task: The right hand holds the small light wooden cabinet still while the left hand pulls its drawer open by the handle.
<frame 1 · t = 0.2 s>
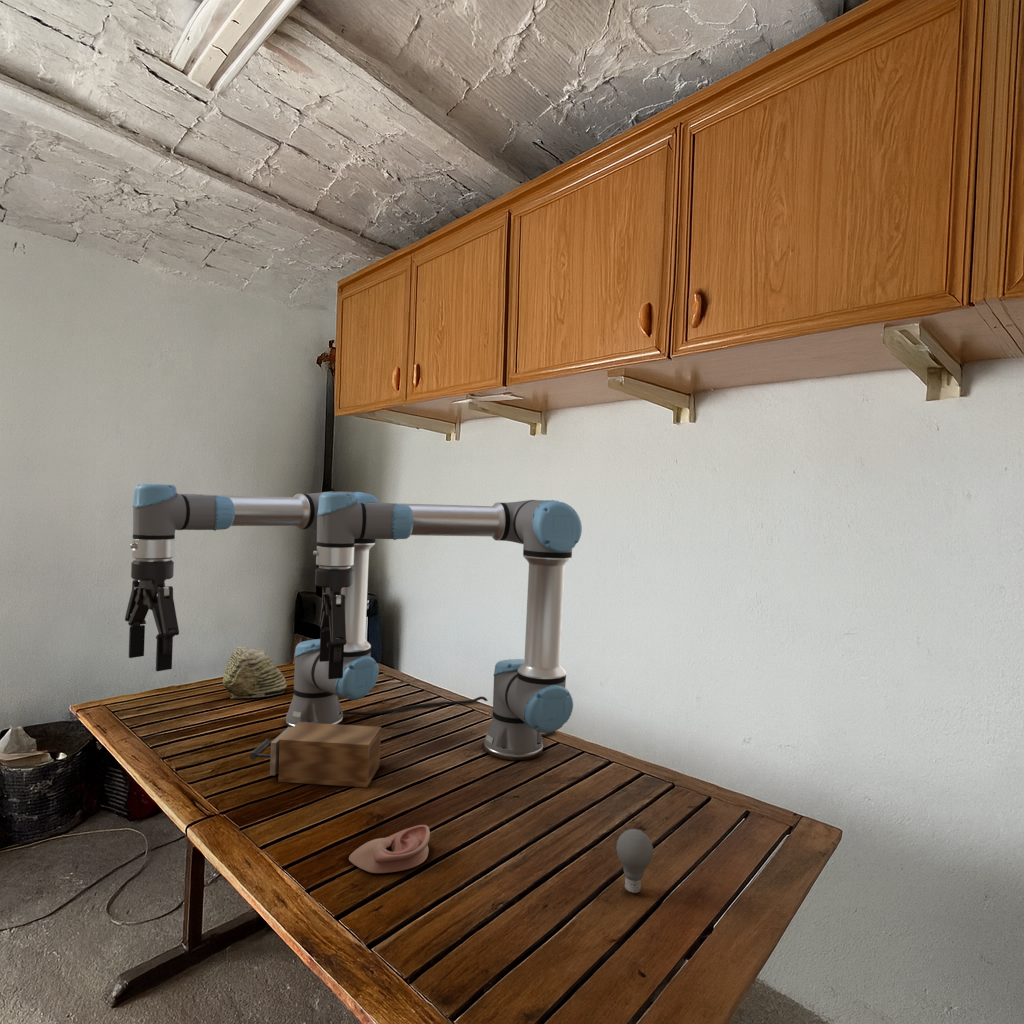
left hand: (149, 663, 129), 28 cm above the table, tool pointing down, fingers open, 13 cm apart
right hand: (330, 669, 131), 28 cm above the table, tool pointing down, fingers open, 13 cm apart
cabinet: (330, 773, 145), on the table
fossil: (254, 694, 198), on the table
anatomical model: (389, 857, 113), on the table
light bulb: (632, 891, 106), on the table
drawer: (307, 751, 145), point 5 cm above the table, slide at 1.0 cm
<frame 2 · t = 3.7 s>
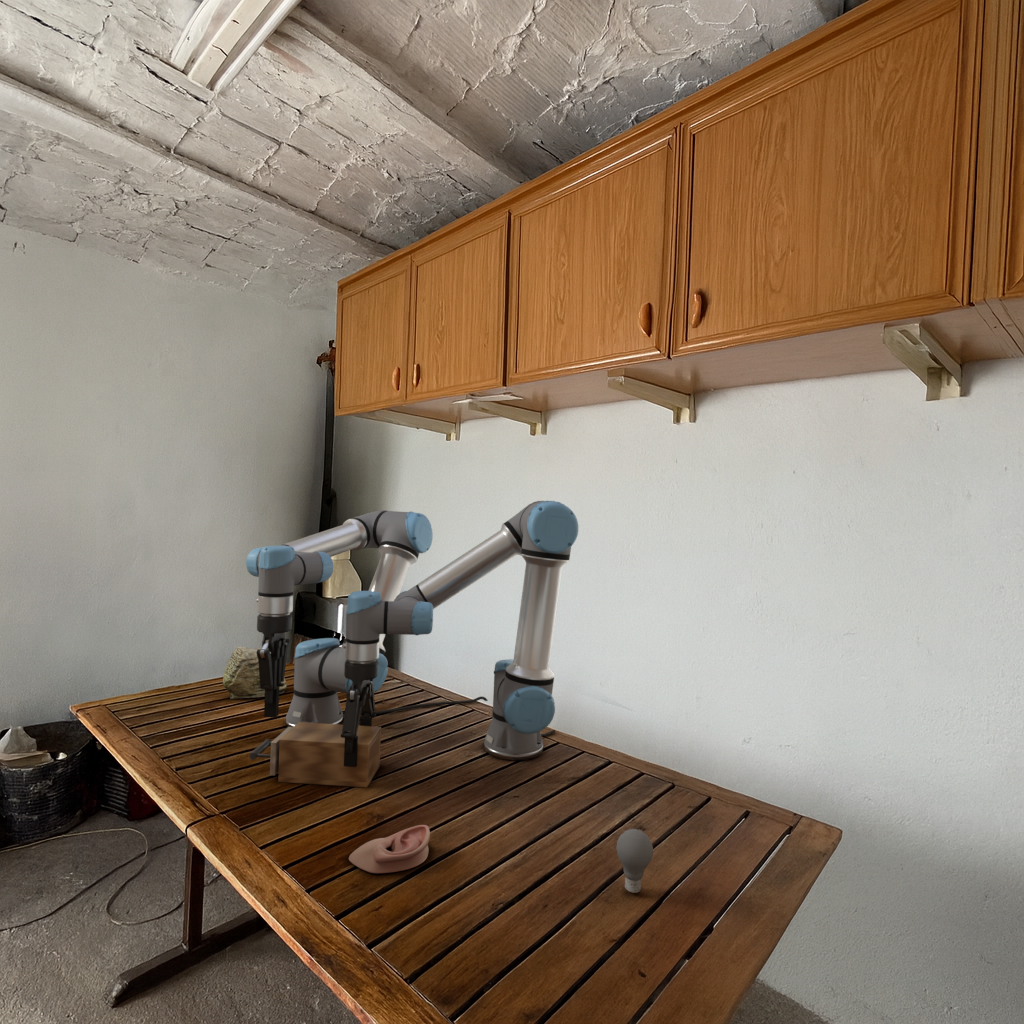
left hand: (271, 716, 145), 13 cm above the table, tool pointing down, fingers closed
right hand: (358, 755, 145), 5 cm above the table, tool pointing down, fingers closed on cabinet, 11 cm apart
cabinet: (330, 773, 145), on the table, touching right hand
everything else where it was.
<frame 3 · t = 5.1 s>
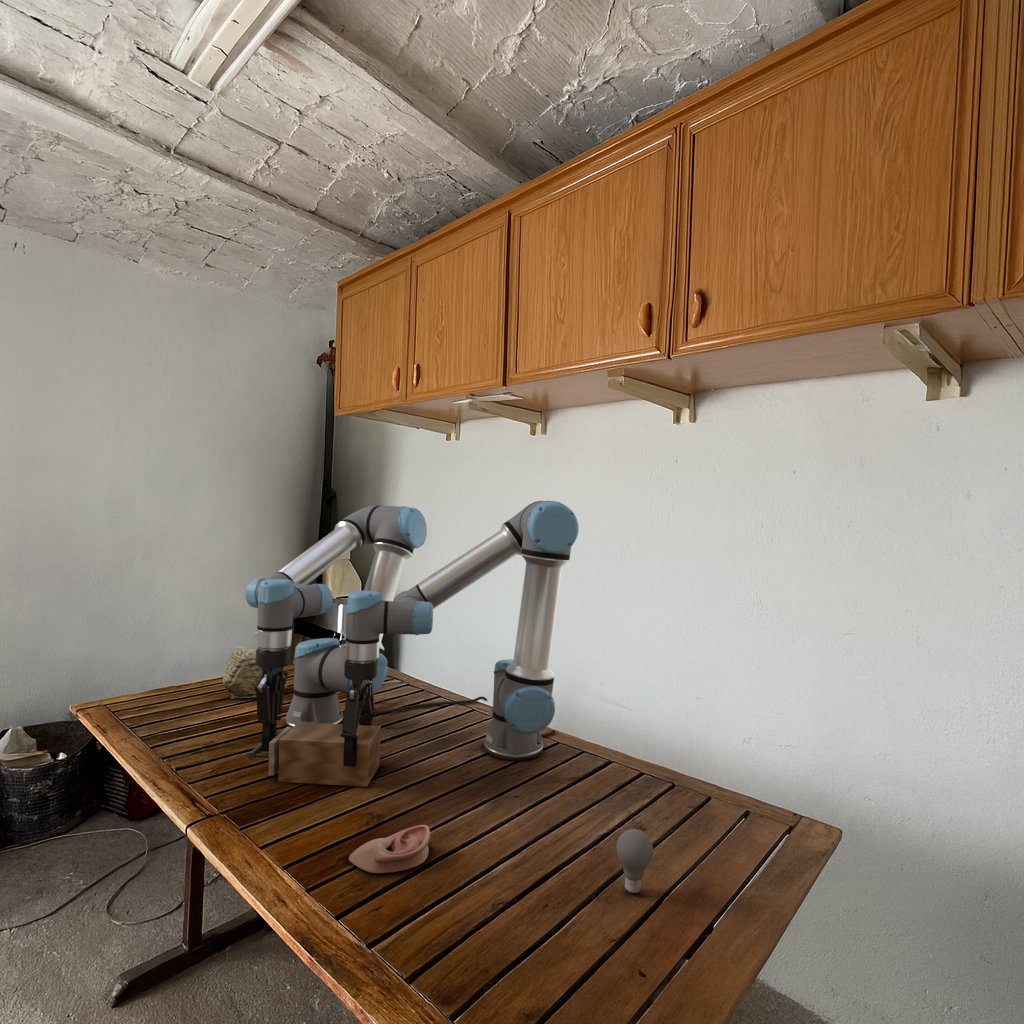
left hand: (268, 750, 145), 5 cm above the table, tool pointing down, fingers closed
right hand: (357, 754, 145), 5 cm above the table, tool pointing down, fingers closed on cabinet, 11 cm apart
cabinet: (330, 773, 145), on the table, touching right hand
everything else where it was.
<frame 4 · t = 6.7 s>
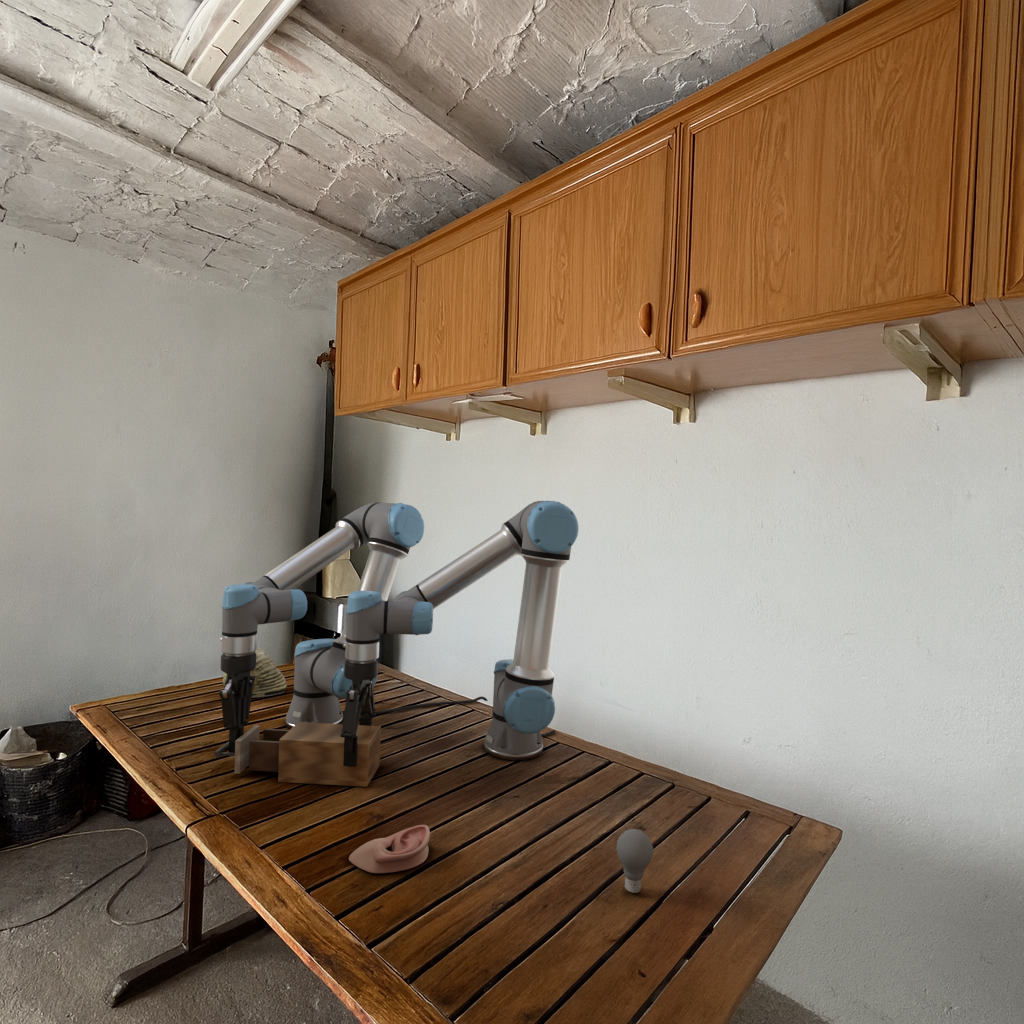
left hand: (235, 754, 146), 3 cm above the table, tool pointing down, fingers closed
right hand: (357, 755, 145), 5 cm above the table, tool pointing down, fingers closed on cabinet, 11 cm apart
cabinet: (330, 773, 145), on the table, touching right hand
drawer: (273, 750, 145), point 5 cm above the table, slide at 9.0 cm, touching left hand
everything else where it was.
when the right hand's fingers open (5 cm above the table, at t = 8.5 s): cabinet stays where it is, on the table.
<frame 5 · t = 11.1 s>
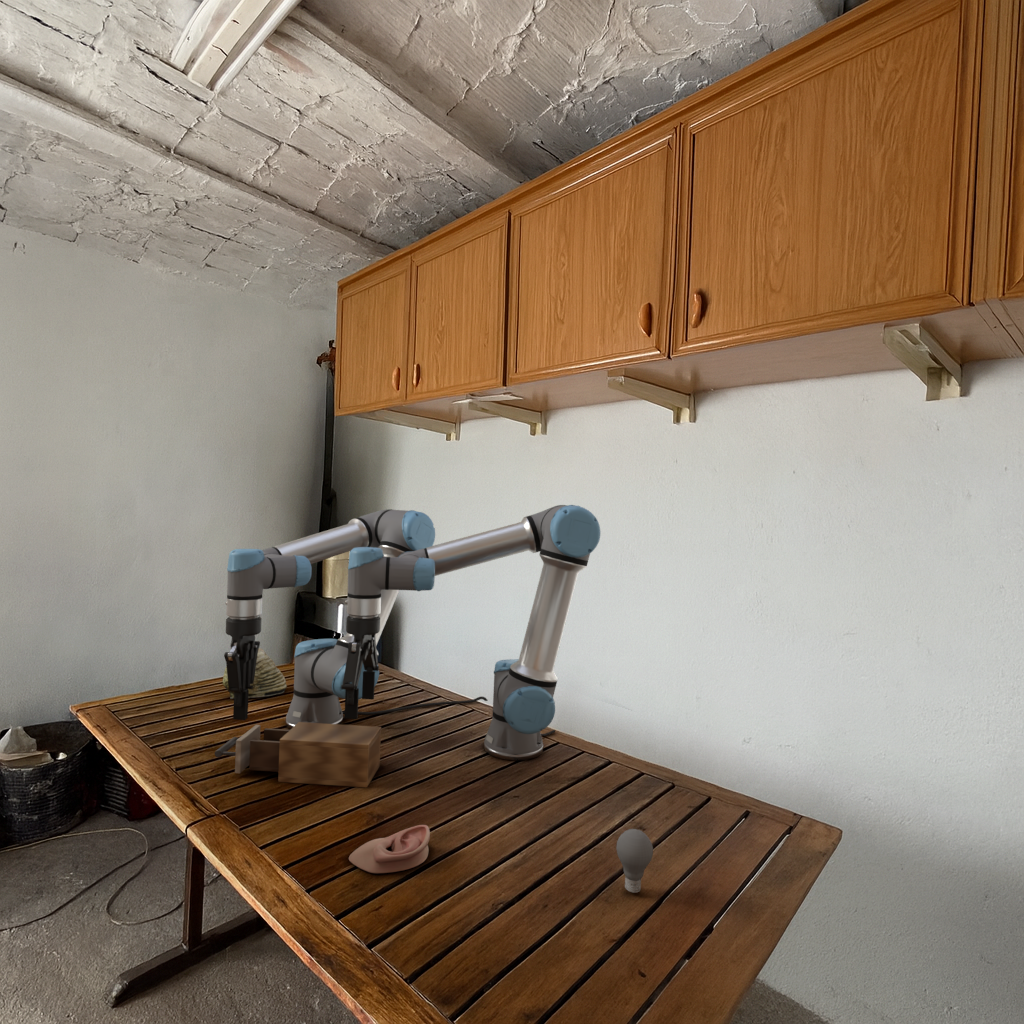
left hand: (240, 718, 146), 11 cm above the table, tool pointing down, fingers closed
right hand: (359, 708, 144), 16 cm above the table, tool pointing down, fingers open, 13 cm apart
cabinet: (330, 773, 145), on the table
drawer: (273, 749, 145), point 5 cm above the table, slide at 8.9 cm
everything else where it was.
at the end: drawer slide at 8.9 cm; cabinet tilted 0°; cabinet never tilted more than 1° during the clip; cabinet moved 0.0 cm from its start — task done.
